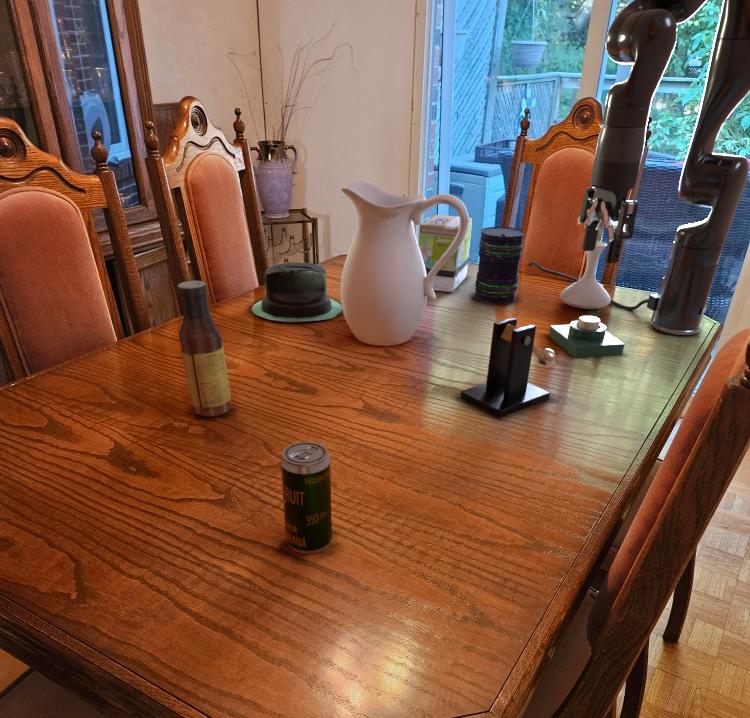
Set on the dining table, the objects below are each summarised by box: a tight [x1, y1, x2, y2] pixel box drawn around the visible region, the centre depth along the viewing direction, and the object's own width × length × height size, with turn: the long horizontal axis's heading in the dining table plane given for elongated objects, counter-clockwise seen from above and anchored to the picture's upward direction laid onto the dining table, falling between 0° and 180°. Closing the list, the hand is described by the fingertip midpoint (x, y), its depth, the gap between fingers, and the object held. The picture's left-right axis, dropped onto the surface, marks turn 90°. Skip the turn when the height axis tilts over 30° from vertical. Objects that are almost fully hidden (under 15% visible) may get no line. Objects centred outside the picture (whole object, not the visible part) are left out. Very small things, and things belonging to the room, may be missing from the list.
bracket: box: [459, 317, 551, 419], centre depth 108 cm, size 12×9×13 cm
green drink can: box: [280, 441, 333, 555], centre depth 75 cm, size 5×5×12 cm
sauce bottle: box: [176, 280, 232, 418], centre depth 100 cm, size 7×6×20 cm
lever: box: [501, 324, 557, 369], centre depth 109 cm, size 14×3×3 cm
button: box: [578, 315, 601, 330], centre depth 130 cm, size 4×4×2 cm
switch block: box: [548, 319, 626, 359], centre depth 132 cm, size 12×10×4 cm
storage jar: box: [474, 226, 525, 305], centre depth 153 cm, size 10×10×15 cm
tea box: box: [418, 214, 473, 293], centre depth 163 cm, size 15×10×15 cm, turn 161°
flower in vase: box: [559, 209, 612, 310], centre depth 146 cm, size 13×11×25 cm
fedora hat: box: [251, 261, 343, 323], centre depth 146 cm, size 15×19×20 cm
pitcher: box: [339, 180, 470, 347], centre depth 126 cm, size 24×17×28 cm
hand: (599, 256), depth 121 cm, fingers open, 8 cm apart
